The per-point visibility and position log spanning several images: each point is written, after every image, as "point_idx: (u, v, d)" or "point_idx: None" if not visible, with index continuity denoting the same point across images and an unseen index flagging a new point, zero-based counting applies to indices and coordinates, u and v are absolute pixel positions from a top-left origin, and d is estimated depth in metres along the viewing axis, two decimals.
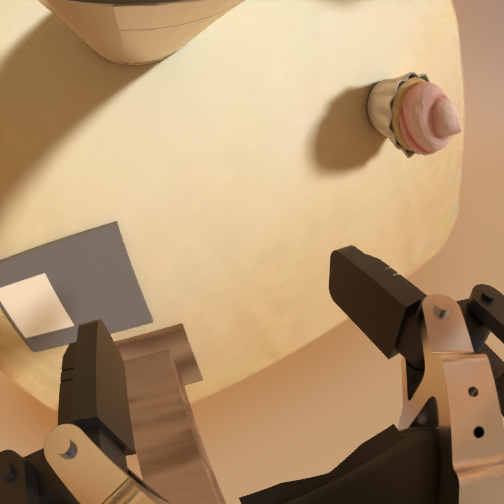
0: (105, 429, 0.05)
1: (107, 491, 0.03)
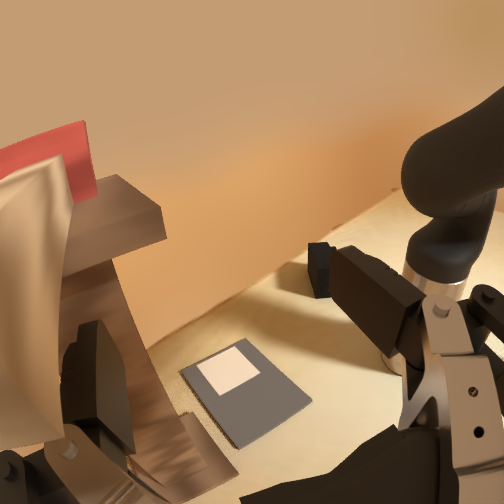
0: (105, 429, 0.05)
1: (107, 491, 0.03)
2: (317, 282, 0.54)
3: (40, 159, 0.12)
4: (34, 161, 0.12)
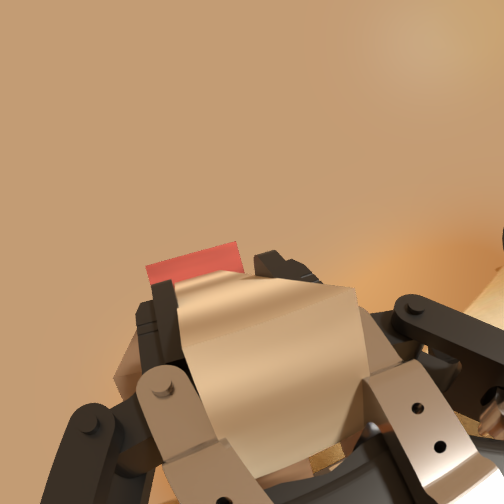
0: None
1: (191, 438, 0.04)
2: None
3: (198, 274, 0.18)
4: (192, 276, 0.18)
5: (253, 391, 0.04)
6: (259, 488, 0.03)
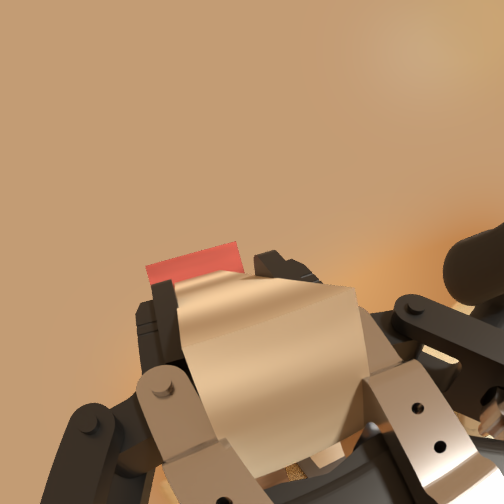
0: None
1: (191, 438, 0.04)
2: None
3: (198, 274, 0.18)
4: (192, 276, 0.18)
5: (253, 391, 0.04)
6: (259, 488, 0.03)
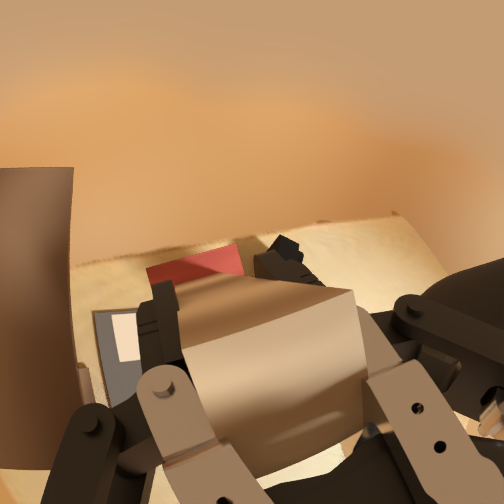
0: None
1: (191, 438, 0.04)
2: None
3: (199, 276, 0.19)
4: (193, 278, 0.18)
5: (252, 391, 0.04)
6: (259, 488, 0.03)
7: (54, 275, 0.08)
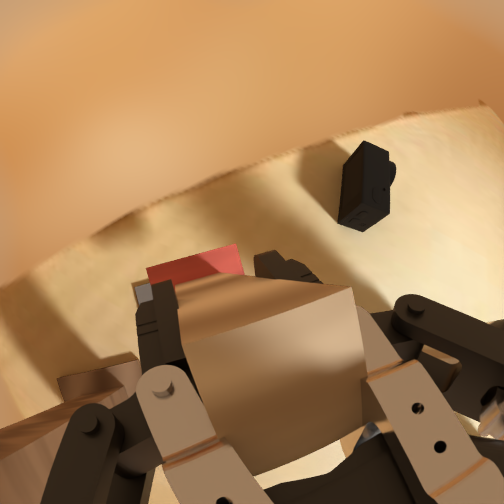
0: None
1: (191, 439, 0.04)
2: (351, 213, 0.36)
3: (199, 276, 0.19)
4: (193, 278, 0.19)
5: (252, 388, 0.04)
6: (259, 488, 0.03)
7: None
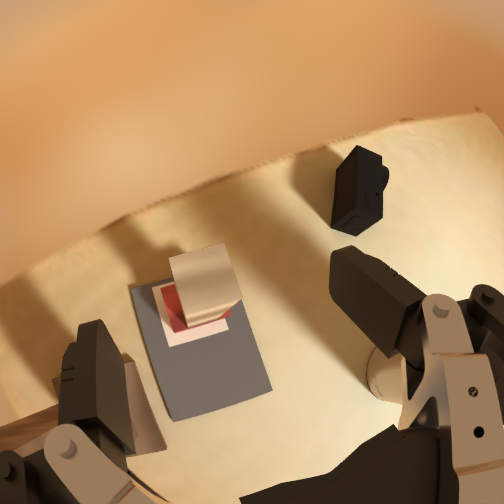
0: (105, 429, 0.05)
1: (107, 491, 0.03)
2: (344, 217, 0.36)
3: None
4: None
5: (189, 273, 0.15)
6: None
7: None
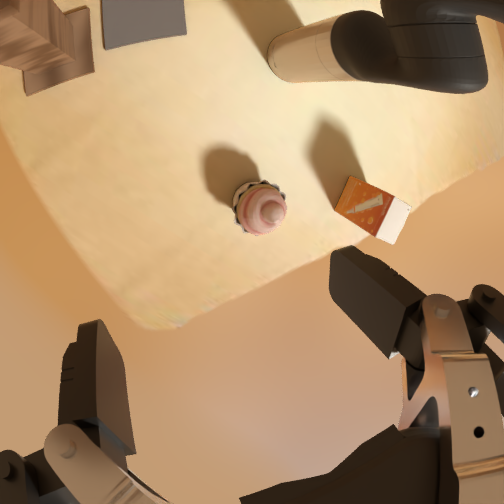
0: (105, 429, 0.05)
1: (107, 491, 0.03)
2: None
3: None
4: None
5: None
6: None
7: None
